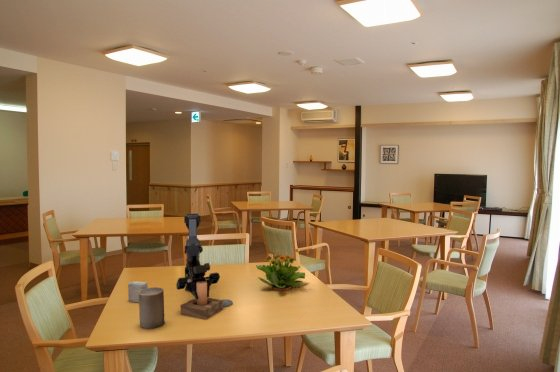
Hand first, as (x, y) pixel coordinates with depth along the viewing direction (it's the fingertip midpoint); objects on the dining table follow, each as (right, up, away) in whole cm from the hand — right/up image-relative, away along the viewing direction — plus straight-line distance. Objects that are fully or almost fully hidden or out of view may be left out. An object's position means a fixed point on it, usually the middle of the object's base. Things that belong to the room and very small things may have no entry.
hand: (202, 297), depth 173 cm
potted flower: (+34, -5, +34) cm, 48 cm away
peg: (-1, -7, +2) cm, 7 cm away
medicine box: (-34, -6, +15) cm, 37 cm away
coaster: (+7, -6, +11) cm, 15 cm away
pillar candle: (-19, -8, -12) cm, 23 cm away
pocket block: (-1, -7, +2) cm, 7 cm away
